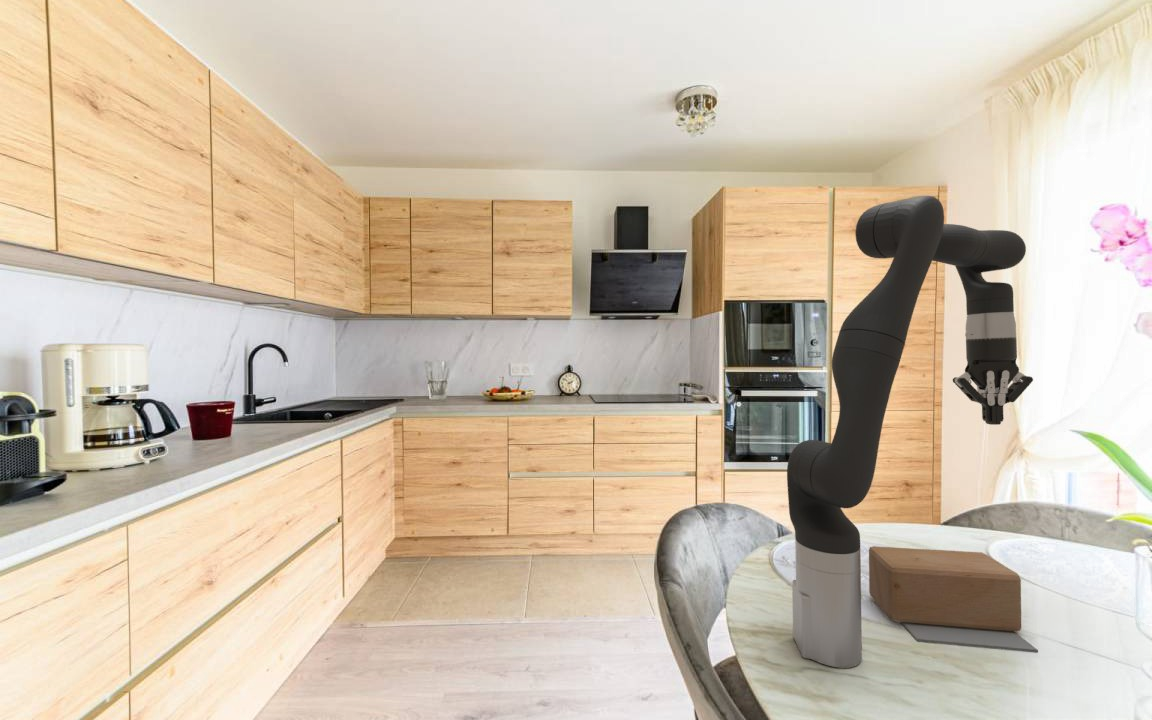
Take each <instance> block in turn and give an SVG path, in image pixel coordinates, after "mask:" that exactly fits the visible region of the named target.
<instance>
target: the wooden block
mask: <svg viewBox="0 0 1152 720" xmlns="http://www.w3.org/2000/svg"><path fill="white" fill-rule="evenodd" d="M868 581H869V582H868V583H869V584H868V586H869V588H868V589H869V594H870V595H869V596H870V597H871V598H872V599H873V600H874V602H875V603H876V604H877V605H878V607H880V609H882V611H883V612H884V613H885V614H886V616H888V617H887V618H889V619H890V620H892V621H894V622H897V623H898V622H909V623H921V624H933V625H945V626H957V627H969V628H981V629H993V630H1005V631H1014V632H1020V631H1021V629H1022V579H1021V577H1020V575H1019V573H1017V572H1015V571H1014V570H1013V569H1011V568H1009V567H1008V566H1006V565H1004V564H1002V563H1001V562H999V561H997V560H996V559H994V558H993V557H991V556H989V555H988V554H986V553H984V552H982V551H981V552H980V551H979V552H978V551H963V550H961V551H959V550H946V549H945V550H944V549H931V548H930V549H929V548H928V549H927V548H910V547H894V546H893V547H892V546H891V547H890V546H876V545H875V546H869V549H868Z"/></svg>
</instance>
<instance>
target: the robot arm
mask: <svg viewBox="0 0 1152 720" xmlns="http://www.w3.org/2000/svg"><path fill="white" fill-rule="evenodd" d="M944 211H945V210H944V207H943V204H942V202H941V201H940V200H939V199H938V198H937V197H935V196H933V195H920V196H912V197H907V198H903V199H900V200H895V201H890V202H883V203H879V204H877V205H874V206H872V207H869V208H867V209H866V210H864V212H862V214H861V215H860V216H859V218H858V219H857V223H856V227H855V234H854V235H855V240H856V245H857V246H858V248H859V250H860V251H861V253H863V254H864V255H865V256H868V257H869V258H873V259H892V258H893V259H892V262H891V263H890V266H889V268H888V270H887V272H886V273H885V275H884V276H883V278H882V279H881V280H880V281H879V283H878V284H877V285H876V286H875V287H874V288H873V289H872V290H871V291H870V292H869V293H868V294H867V295H866V296H865V297H864V298H863V299H862V300H861V301H860V302H859V303H858V304H857V305H856V306H855V307H854V308H853V309H852V310H851V311H850V313H849V314H848V315H847V316H846V317H845V319H844V320H843V323H842V325H841V327H840V330H839V333H838V336H837V339H836V342H835V345H834V349H833V352H832V357H831V371H832V376H833V381H834V385H835V389H836V393H837V396H838V401H839V403H838V404H839V414H838V415H839V416H838V420H837V424H836V428H835V433H834V435H833V438H832V441H831V442H826V441H822V440H817V439H807V440H803V441H802V442H799V443H798V444H797V445H796V446H795V447H794V448H793V449H792V451H791V453H790V455H789V457H788V461H787V469H786V483H787V499H788V512H789V518H790V521H791V524H792V526H793V529H794V539H795V541H794V544H795V550H794V551H795V579H793V580H792V581H791V584H792V585H791V586H792V587H791V588H792V589H791V591H792V637H793V639H794V641H795V643H796V646H797V648H798V650H799V652H800V655H801V657H802V658H804V659H809V660H813V661H815V662H817V663H819V664H822V665H826V666H830V667H834V668H840V669H841V668H843V669H845V668H847V669H848V668H853V667H856V666H859V664H860V663H861V662H862V661H863V660H862V659H863V656H862V655H863V653H862V652H863V642H862V641H863V640H862V639H863V638H862V634H863V633H862V581H861V580H862V575H861V574H862V573H861V572H862V570H861V568H862V567H861V566H862V565H861V564H862V563H861V560H862V559H861V533H860V531H859V529H858V527H857V526H856V525H855V524H854V523H853V522H852V521H851V520H850V519H849V518H848V517H847V515H846V514H845V513H844V510H843V509H852V508H855V507H856V506H858V505H859V504H860V503H862V502H863V501H864V499H865V498H866V497H867V496H868V493H869V491H870V489H871V486H872V483H873V480H874V475H875V471H876V465H877V458H878V452H879V447H880V441H881V440H880V439H881V435H882V429H883V424H884V419H885V414H886V411H887V408H888V407H887V406H888V403H889V400H890V399H889V398H890V395H891V391H892V387H893V384H894V380H895V378H896V374H897V371H898V369H899V366H900V362H901V359H902V355H903V351H904V348H905V344H906V341H907V336H908V331H909V330H910V329H909V328H910V325H911V322H912V321H911V320H912V318H913V314H914V311H915V308H916V305H917V301H918V297H919V294H920V292H921V289H922V286H923V284H924V281H925V278H926V277H927V274H928V272H929V269H930V267H931V265H932V262H933V261H934V262H938V263H942V264H945V265H946V264H947V265H951V266H954V267H955V269H956V271H957V273H958V276H959V278H960V281H961V284H962V287H963V290H964V293H965V300H966V305H965V306H966V320H965V321H966V322H965V334H964V336H965V350H966V351H965V353H966V361H967V364H966V367H965V369H964V372H963V374H961V375H959V376H958V377H953V378H952V383H954V384H955V386H957V388H958V389H959V390H960V391H961V392H962V393H963V394H964V395H965V396H966V397H967V399H969V400H970V401H971V402H974V403H978V404H979V405H981V418H982V420H983V421H984V422H985V425H995V426H996V425H1001V424H1002V422H1004V419H1005V418H1004V406H1005V405H1006V404H1009V403H1014V402H1016V400H1017V399H1018V398H1019V397H1020V396H1021V395H1022V394H1023V393H1024V392H1025V391H1026V389H1027V388H1028V387H1029V386H1030V385H1031V384H1032V383H1033V381H1034V378H1033V377H1032V376H1027V375H1025V374H1024V373H1022V372H1020V367H1019V366H1018V364H1017V359H1018V345H1017V344H1018V343H1017V342H1018V341H1017V338H1018V337H1017V323H1016V317H1015V313H1014V312H1015V311H1014V310H1015V309H1014V306H1015V304H1014V288H1013V286H1012V285H1011V284H1010V283H1007V282H997V281H995V282H994V281H993V282H992V281H987V280H986V279H985V277H983V275H982V273H987V272H988V273H989V272H993V271H1001V270H1006V269H1007V270H1008V269H1012V268H1013V267H1015V266H1017V265H1018V264H1020V263H1021V262H1022V260H1023V259H1024V257H1025V256H1026V251H1027V250H1026V249H1027V246H1026V243H1025V241H1024V239H1023V238H1022V237H1021V236H1020V235H1019V234H1017V233H1015V232H1014V231H1010V230H1005V229H1003V230H1002V229H1001V230H997V229H996V230H995V229H992V230H991V229H989V230H978V229H976V228H972V227H970V226H965V225H962V224H956V223H955V224H953V223H945V212H944ZM972 382H973V383H974V384H975V385H976V388H975V387H974V386H973V385H972ZM1011 382H1012V383H1011ZM1010 383H1011V384H1010Z"/></svg>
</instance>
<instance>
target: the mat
mask: <svg viewBox="0 0 1152 720" xmlns="http://www.w3.org/2000/svg"><path fill="white" fill-rule="evenodd" d="M900 624H901V626H903V627H904V629H906V631H907V632H908V633H909V634H910V635H911V637H912V638H914V640H915V641H916V642H921V643H930V644H942V645H953V646H961V647H962V646H963V647H975V648H984V649H986V648H987V649H997V650H1005V651H1017V652H1028V653H1038V652H1039V649H1037V648H1036V647H1034V646H1033V645H1032V644H1031V643H1030V642H1029V641H1027V640H1026V639H1025V638H1023V637H1022V636H1021V635H1019V633H1018V632H1017V631H1005V630H993V629H981V628H969V627H957V626H945V625H933V624H921V623H909V622H900Z"/></svg>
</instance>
